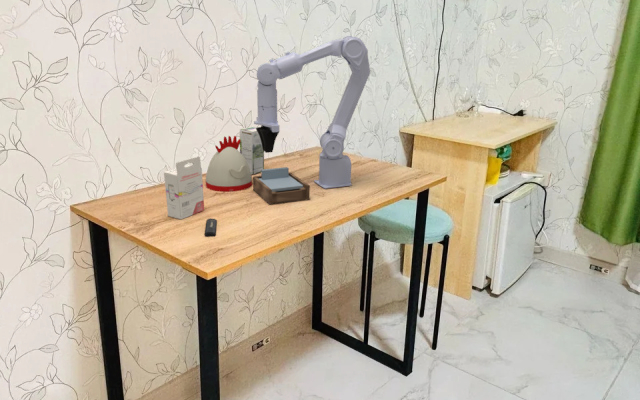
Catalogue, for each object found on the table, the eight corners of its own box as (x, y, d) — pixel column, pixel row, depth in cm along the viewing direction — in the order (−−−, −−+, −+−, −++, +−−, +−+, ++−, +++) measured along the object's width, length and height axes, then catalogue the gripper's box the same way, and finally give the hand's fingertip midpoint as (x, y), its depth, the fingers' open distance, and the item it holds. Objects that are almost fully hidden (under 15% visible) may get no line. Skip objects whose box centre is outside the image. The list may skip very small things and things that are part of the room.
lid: (258, 181, 152) (257, 169, 150) (288, 177, 156) (288, 166, 154) (271, 192, 142) (270, 179, 141) (303, 188, 146) (303, 175, 145)
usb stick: (215, 238, 120) (215, 231, 120) (204, 238, 120) (203, 232, 119) (217, 223, 129) (217, 217, 128) (206, 223, 129) (206, 217, 128)
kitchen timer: (260, 186, 157) (260, 137, 152) (220, 194, 149) (218, 143, 144) (237, 176, 167) (235, 129, 162) (197, 183, 159) (195, 134, 154)
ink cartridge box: (191, 206, 139) (187, 153, 134) (204, 210, 136) (201, 156, 131) (166, 216, 132) (162, 159, 127) (180, 220, 129) (176, 163, 125)
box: (253, 190, 153) (252, 176, 152) (290, 185, 158) (290, 172, 157) (269, 204, 141) (269, 190, 140) (309, 199, 146) (309, 185, 145)
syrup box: (251, 168, 176) (250, 126, 171) (264, 171, 172) (264, 128, 168) (239, 172, 171) (238, 128, 167) (253, 175, 168) (252, 131, 163)
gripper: (246, 102, 155) (247, 147, 160) (262, 110, 143) (263, 158, 147) (268, 101, 158) (269, 145, 163) (286, 109, 146) (286, 156, 150)
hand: (267, 151), depth 155 cm, fingers closed
